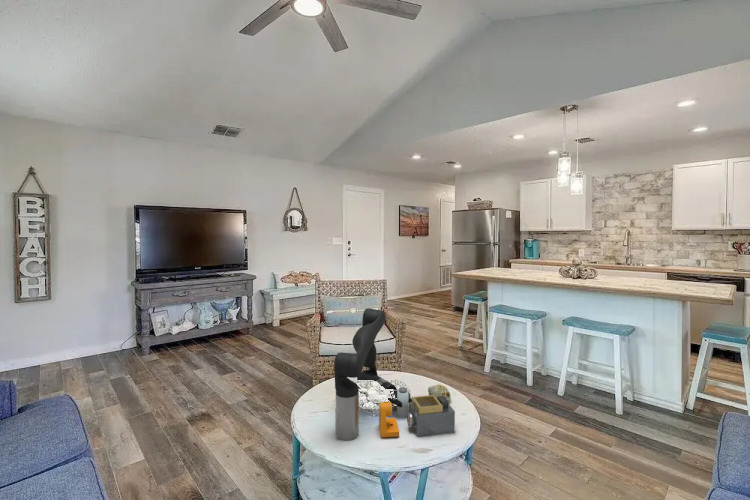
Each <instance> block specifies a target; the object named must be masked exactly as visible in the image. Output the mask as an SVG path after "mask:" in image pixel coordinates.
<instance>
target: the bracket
mask: <svg viewBox="0 0 750 500" xmlns="http://www.w3.org/2000/svg"><path fill="white" fill-rule="evenodd" d="M378 407H379V408H378V409H379V411H378V424H379V432H380V437H381V438H395V437H399V436H400V430H399V426H398V421H397V418H395V417H392V416H393V404H392V403H391V402H389V401H388V402H382V401H381V402H379V406H378ZM388 417H389V418H388Z"/></svg>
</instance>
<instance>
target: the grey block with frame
mask: <svg viewBox="0 0 750 500" xmlns="http://www.w3.org/2000/svg"><path fill="white" fill-rule="evenodd" d="M411 399H412V402H409V413H407V418H406V423H407V426H408V427H410V428H411V429H412V431H413V433H414V434H415V436H416V438H423V437H429V436H438V435H446V434H447V435H448V434H455V431H456V430H455V428H456V427H455V425H456V423H455V422H456V419H455V418H456V417H455V416H456V413H455V412H456V411H455V410H454V409H453V408H452V406H451V404H448V400H447V399H446V398H445V396H437V398H436V397H435V395H429V394H428V395H420V396H419V395H417V396H411Z"/></svg>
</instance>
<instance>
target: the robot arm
mask: <svg viewBox="0 0 750 500" xmlns="http://www.w3.org/2000/svg"><path fill="white" fill-rule="evenodd" d="M361 322H362V323H361V324H362V326H361V327H359V328H358V330H356V331H355V334H354V335H353V338H352V340H351V341H352V346H353V349H354V351H355V352H356V353H351V352H337V354H336V355H335V357H334V363H333V372H334V373H333V375H334V388H335V416H334V417H335V421H334V422H335V423H334V424H335V425H334V426H335V436H336V437H335V438H336V440H342V441H352V440H354V439H356V438H357V437H359V433H360V427H359V426H360V425H359V424H360V423H359V422H360V421H359V420H360V416H359V413H360V412H359V411H360V410H359V409H360V406H359V403H360V402H359V400H360V399H359V392H360V391H359V389H360V388H359V384H357V383H356V382H354V381H353V380H351V379H350V378H352V379H354V378H356V379H357V381H358V380H374V381H377V382H378V383H379V384H380V385H381V386H383V387H384V388H385V389H394V390H395V391H394V393H393V391H390V393H391V396H392V399H391V398H388V400H389V401H390V402H391V403H392V405H395V406H398V407H402V402H400V401H399V400H398V399H396V398H397V391H398V390H399V389H397V386H395V384H393V383H391V381H388V380H386V379H384V378H382V377H381V376H379V375H378V371H377V347H376V345H375V343H374V342H375V340H376V338H377V335H378V334H379V332H380V331H381V329H382V328H383V326H384V325H385V323H386V313H385V311H384V310H382V309H375V308H369V307H368V308H365V309H364V311H363V313H362V321H361ZM364 368H368V369H366V370H363V369H364ZM389 401H388V402H389ZM409 402H412V397H411V393H410V392H409Z"/></svg>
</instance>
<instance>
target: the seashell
mask: <svg viewBox="0 0 750 500" xmlns="http://www.w3.org/2000/svg"><path fill="white" fill-rule="evenodd" d="M427 392H428V395H435V397H436V398H437V396H445V398H446V399H447V400H448V404H449V405H451V401H452V400H451V393H450V391H449V389H448V388H447V387H446V386H445V385H442V384H435V385H431V386H429V387H428V389H427Z"/></svg>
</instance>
